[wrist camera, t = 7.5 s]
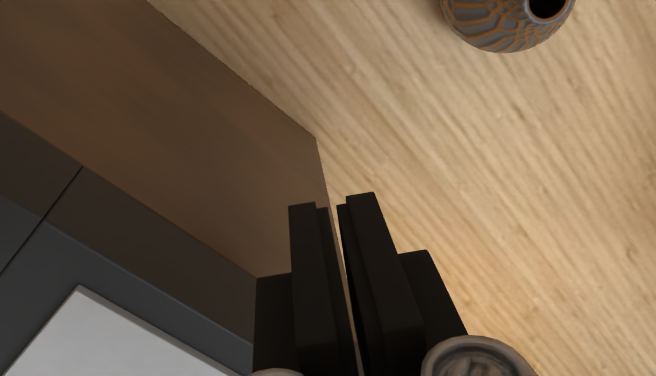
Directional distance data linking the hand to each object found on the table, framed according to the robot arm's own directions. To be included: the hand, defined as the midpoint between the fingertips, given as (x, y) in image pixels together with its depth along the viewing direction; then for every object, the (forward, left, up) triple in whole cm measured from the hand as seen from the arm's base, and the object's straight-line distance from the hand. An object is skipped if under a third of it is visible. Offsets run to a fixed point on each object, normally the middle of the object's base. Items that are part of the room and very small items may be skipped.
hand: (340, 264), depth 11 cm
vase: (+7, +10, -25) cm, 28 cm away
